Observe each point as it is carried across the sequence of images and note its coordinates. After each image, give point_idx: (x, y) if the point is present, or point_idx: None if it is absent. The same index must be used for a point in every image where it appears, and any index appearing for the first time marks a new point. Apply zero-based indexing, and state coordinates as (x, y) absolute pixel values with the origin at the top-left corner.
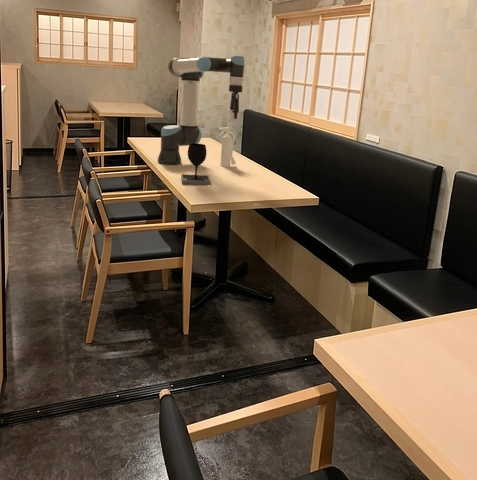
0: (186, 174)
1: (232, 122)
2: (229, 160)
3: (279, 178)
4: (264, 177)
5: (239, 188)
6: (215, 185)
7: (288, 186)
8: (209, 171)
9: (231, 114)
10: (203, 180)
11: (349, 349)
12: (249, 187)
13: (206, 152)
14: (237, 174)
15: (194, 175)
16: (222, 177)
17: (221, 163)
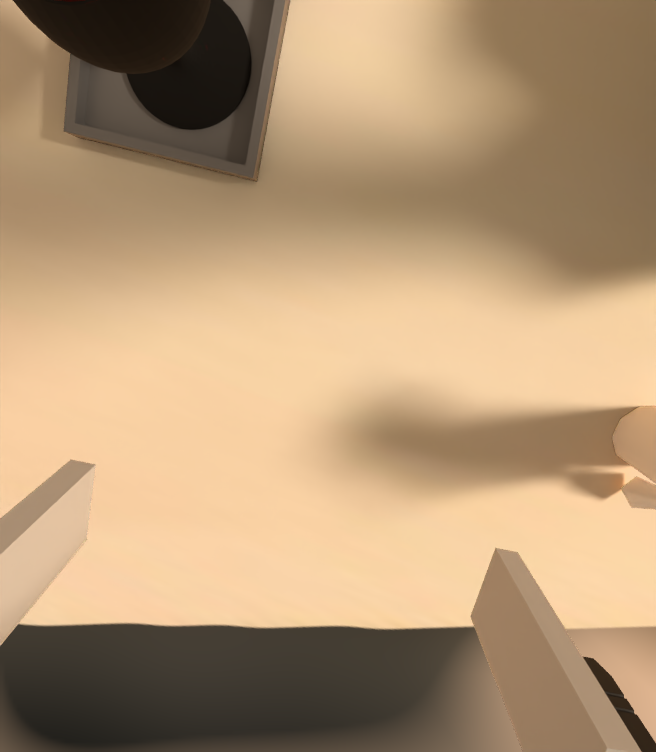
0: (280, 4)
1: (59, 476)
2: (639, 469)
3: (279, 621)
4: (303, 552)
5: (22, 306)
6: (85, 174)
7: (95, 594)
8: (485, 267)
9: (538, 675)
10: (156, 109)
11: None
12: (53, 376)
13: (76, 52)
14: (386, 425)
15: (263, 69)
16: (307, 299)
17: (651, 412)
